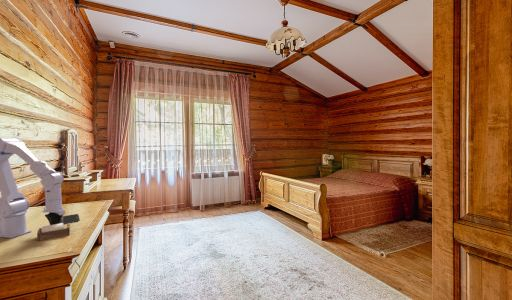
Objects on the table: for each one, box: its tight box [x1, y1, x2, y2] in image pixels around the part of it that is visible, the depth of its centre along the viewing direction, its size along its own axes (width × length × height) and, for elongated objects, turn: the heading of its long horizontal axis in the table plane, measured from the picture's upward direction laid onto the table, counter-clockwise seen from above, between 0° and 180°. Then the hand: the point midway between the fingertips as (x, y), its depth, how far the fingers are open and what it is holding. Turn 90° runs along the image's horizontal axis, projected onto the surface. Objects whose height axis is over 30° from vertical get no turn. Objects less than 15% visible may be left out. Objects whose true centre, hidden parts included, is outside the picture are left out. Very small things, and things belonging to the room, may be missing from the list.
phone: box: [60, 213, 80, 225], centre depth 130 cm, size 8×1×15 cm
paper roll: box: [41, 222, 65, 233], centre depth 107 cm, size 7×5×5 cm
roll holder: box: [36, 223, 71, 242], centre depth 107 cm, size 7×11×4 cm
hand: (55, 228), depth 111 cm, fingers closed
